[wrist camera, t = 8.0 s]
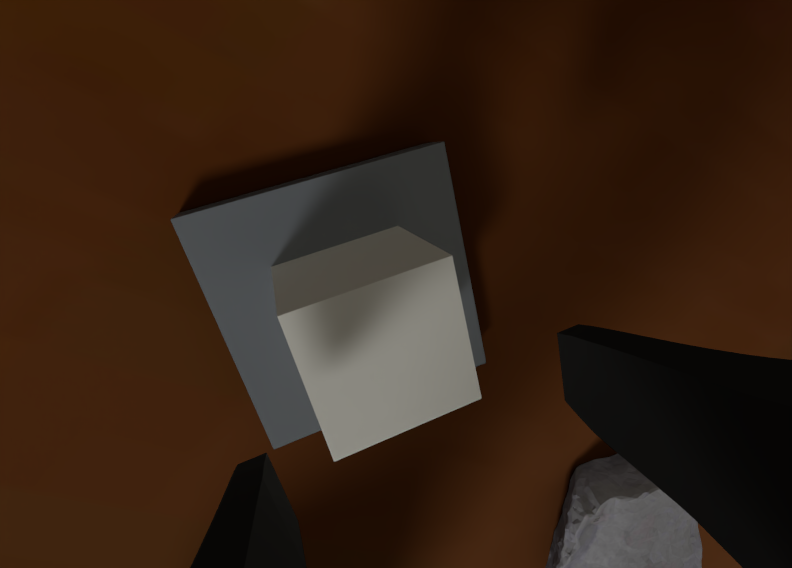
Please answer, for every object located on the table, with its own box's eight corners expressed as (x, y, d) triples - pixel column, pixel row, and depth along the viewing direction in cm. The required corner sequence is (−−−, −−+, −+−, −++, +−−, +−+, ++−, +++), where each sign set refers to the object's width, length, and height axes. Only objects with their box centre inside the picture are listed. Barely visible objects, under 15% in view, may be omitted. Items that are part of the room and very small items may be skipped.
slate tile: (272, 427, 19) (273, 449, 18) (178, 212, 15) (170, 219, 14) (471, 348, 21) (486, 362, 20) (429, 142, 17) (444, 141, 16)
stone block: (531, 580, 31) (660, 554, 32) (562, 653, 27) (712, 621, 27) (524, 447, 28) (670, 420, 28) (558, 505, 23) (732, 471, 24)
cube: (313, 379, 17) (334, 462, 13) (271, 266, 15) (277, 316, 11) (425, 336, 18) (481, 398, 14) (398, 225, 16) (452, 255, 12)
